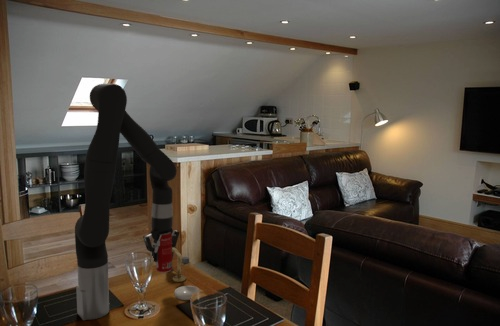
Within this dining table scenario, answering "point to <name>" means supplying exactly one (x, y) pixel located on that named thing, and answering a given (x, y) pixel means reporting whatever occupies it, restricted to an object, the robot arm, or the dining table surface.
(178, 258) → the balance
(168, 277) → the dining table surface
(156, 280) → the dining table surface
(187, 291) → the saucer
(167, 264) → the beverage can
